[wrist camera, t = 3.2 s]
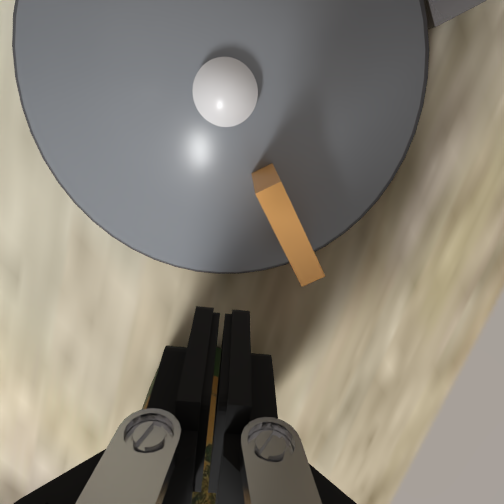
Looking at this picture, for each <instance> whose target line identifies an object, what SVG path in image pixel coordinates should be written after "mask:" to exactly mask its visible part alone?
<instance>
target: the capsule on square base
mask: <svg viewBox="0 0 504 504" xmlns="http://www.w3.org/2000/svg"><path fill="white" fill-rule="evenodd" d="M484 1H486V0H424V6H425V11H426V16H427V26H428V29H430V28H434V27H436V26H438V25H440V24H442V23H444V22H446V21H448V20H450V19H452V18H454V17H455V16H457V15H459V14H461V13H463V12H465V11H467V10H469V9H471V8H473V7H475V6H477V5H479V4H481V3H482V2H484Z"/></svg>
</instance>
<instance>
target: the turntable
mask: <svg viewBox="0 0 504 504" xmlns="http://www.w3.org/2000/svg"><path fill="white" fill-rule="evenodd" d="M15 53H16V63H17V74H18V81H19V85H20V90H21V95H22V99H23V104H24V108H25V111H26V114H27V117H28V120H29V122H30V125H31V128H32V131H33V134H34V136H35V138H36V140H37V142H38V144H39V147H40V149H41V151H42V153H43V155H44V157H45V159H46V161H47V162H48V164H49V165H50V167H51V169H52V170H53V172H54V173H55V175H56V177H57V178H58V180H59V181H60V183H61V184H62V185H63V187H64V188H65V189H66V190H67V192H68V193H69V194H70V195H71V197H72V198H73V199H74V200H75V202H76V203H77V204H78V205H79V206H80V207H81V208H82V209H83V210H84V211H85V212H86V213H87V214H88V215H89V216H90V217H91V218H92V219H93V220H94V221H96V222H97V223H98V224H99V225H101V226H102V227H103V228H104V229H106V230H107V231H108V232H109V233H111V234H112V235H113V236H115V237H116V238H118V239H120V240H121V241H123V242H124V243H126V244H128V245H129V246H131V247H132V248H134V249H136V250H139V251H141V252H143V253H145V254H147V255H149V256H151V257H153V258H156V259H159V260H162V261H165V262H167V263H170V264H173V265H177V266H181V267H186V268H190V269H195V270H203V271H213V272H242V271H250V270H257V269H263V268H267V267H271V266H275V265H279V264H283V263H285V262H288V261H289V262H290V264H291V266H292V268H293V270H294V272H295V274H296V276H297V278H298V280H299V282H300V284H301V286H302V287H303V286H305V285H307V284H309V283H312V282H314V281H316V280H318V279H321V278H323V277H325V274H324V272H323V270H322V268H321V266H320V264H319V261H318V259H317V257H316V255H315V253H314V251H313V250H315V249H317V248H319V247H321V246H322V245H324V244H326V243H327V242H328V241H330V240H331V239H333V238H334V237H336V236H337V235H339V234H340V233H342V232H343V231H344V230H345V229H346V228H347V227H348V226H350V225H351V224H352V223H353V222H354V221H355V220H356V219H358V218H359V217H360V216H361V215H362V214H363V212H364V211H365V210H366V209H367V208H368V207H369V206H370V205H371V204H372V202H373V201H374V200H375V199H376V198H377V196H378V195H379V194H380V192H381V191H382V189H383V188H384V187H385V185H386V184H387V182H388V181H389V180H390V178H391V176H392V174H393V173H394V171H395V169H396V167H397V165H398V163H399V162H400V160H401V158H402V156H403V154H404V151H405V149H406V146H407V144H408V141H409V139H410V137H411V134H412V131H413V128H414V124H415V121H416V117H417V114H418V110H419V107H420V101H421V95H422V88H423V82H424V69H425V39H424V25H423V17H422V12H421V7H420V2H419V0H19V1H18V7H17V13H16V32H15Z"/></svg>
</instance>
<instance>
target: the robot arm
mask: <svg viewBox="0 0 504 504" xmlns="http://www.w3.org/2000/svg"><path fill="white" fill-rule="evenodd" d="M213 310H214V308H208V307H198V306H197V307H196V310H195V315H194V320H193V324H192V329H191V333H190V338H189V343H188V347H187V348H184V347H173V346H166V347H165V349H164V352H163V356H162V359H161V362H160V366H159V369H158V372H157V375H156V379H155V382H154V385H153V389H152V392H151V395H150V399H149V402H148V405H147V408H146V409H143V410H139V411H137V412H135V413H132V414H131V415H130V416H128V417H127V418H125V419H124V421H123V422H122V423H121V424H120V426H119V427H118V429H117V431H116V433H115V434H114V436H113V438H112V440H111V441H110V443H109V445H108V447H107V449H105V450H103V451H102V452H100V453H98V454H96V455H95V456H93V457H91V458H90V459H88V460H86V461H84V462H83V463H81V464H79V465H78V466H76V467H74V468H72V469H71V470H69V471H67V472H66V473H64V474H62V475H60V476H59V477H57V478H55V479H54V480H52V481H50V482H48V483H47V484H45V485H43V486H42V487H40V488H38V489H36V490H35V491H33V492H31V493H30V494H28V495H26V496H24V497H23V498H21V499H19V500H18V501H16V502H15V503H14V504H191V503H192V495H193V492H201V488H202V479H203V470H204V460H205V451H206V441H207V432H208V423H209V413H210V404H211V394H212V385H213V375H214V365H215V356H216V346H217V336H218V327H219V317H220V313H213ZM208 493H216V500H215V504H356V503H355V502H354V501H353V500H352V499H350V498H349V497H348V496H347V495H346V494H344V493H343V492H342V491H341V490H340V489H338V488H337V487H336V486H335V485H334V484H333V483H331V482H330V481H329V480H328V479H327V478H325V477H324V476H323V475H322V474H321V473H319V472H318V471H317V470H316V469H315V468H314V467H312V466H311V465H310V464H309V463H308V460H307V457H306V454H305V451H304V448H303V445H302V442H301V439H300V437H299V435H298V433H297V432H296V431H295V429H294V428H293V427H292V426H291V425H289V424H288V423H286V422H284V421H283V420H280V419H278V415H277V405H276V395H275V385H274V376H273V366H272V357H271V355H265V354H253V353H251V346H250V312H249V311H240V310H232V314H225V321H224V331H223V340H222V349H221V358H220V367H219V376H218V386H217V396H216V407H215V419H214V430H213V441H212V452H211V463H210V475H209V486H208Z"/></svg>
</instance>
